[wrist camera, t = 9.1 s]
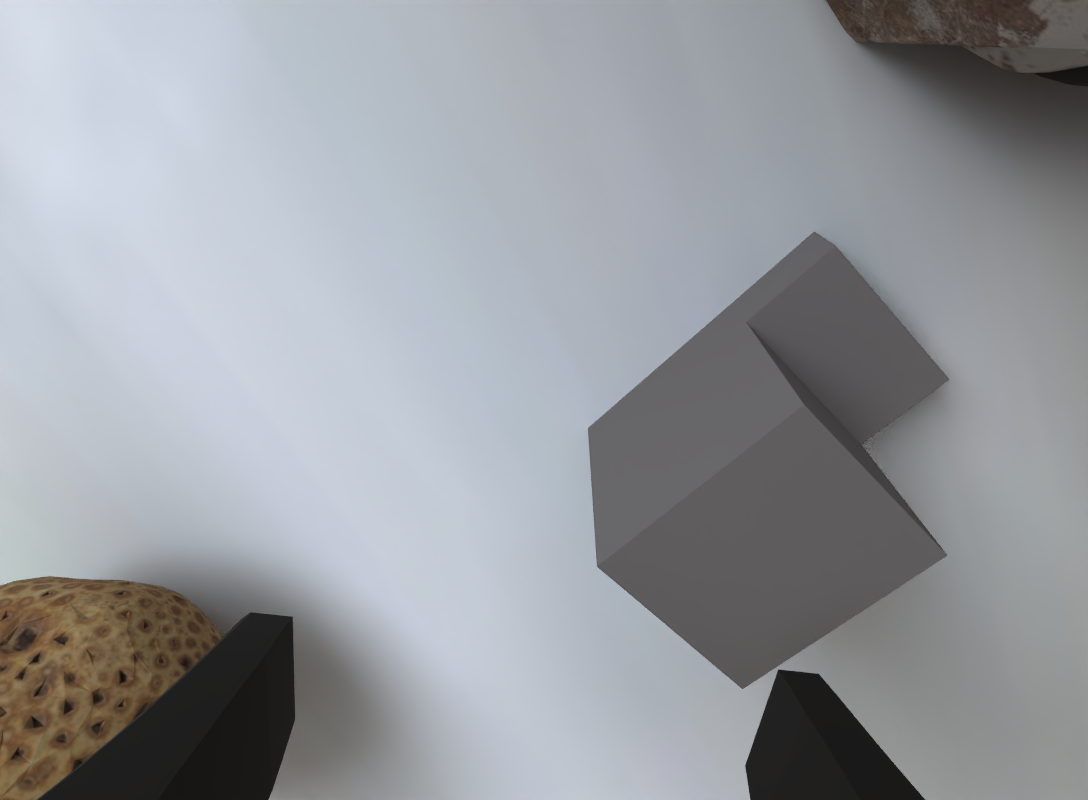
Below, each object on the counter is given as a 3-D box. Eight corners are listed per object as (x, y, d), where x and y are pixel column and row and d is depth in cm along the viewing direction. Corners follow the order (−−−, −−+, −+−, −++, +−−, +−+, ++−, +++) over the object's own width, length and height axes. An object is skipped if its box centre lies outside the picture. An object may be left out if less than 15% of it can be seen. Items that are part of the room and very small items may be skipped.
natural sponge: (133, 426, 20) (-221, 724, 11) (362, 625, 23) (230, 994, 14) (-48, 589, 23) (-456, 940, 14) (178, 750, 25) (-35, 1131, 16)
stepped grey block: (921, 356, 19) (1067, 476, 13) (696, 527, 21) (742, 689, 16) (814, 231, 17) (927, 308, 12) (587, 428, 20) (597, 566, 14)
